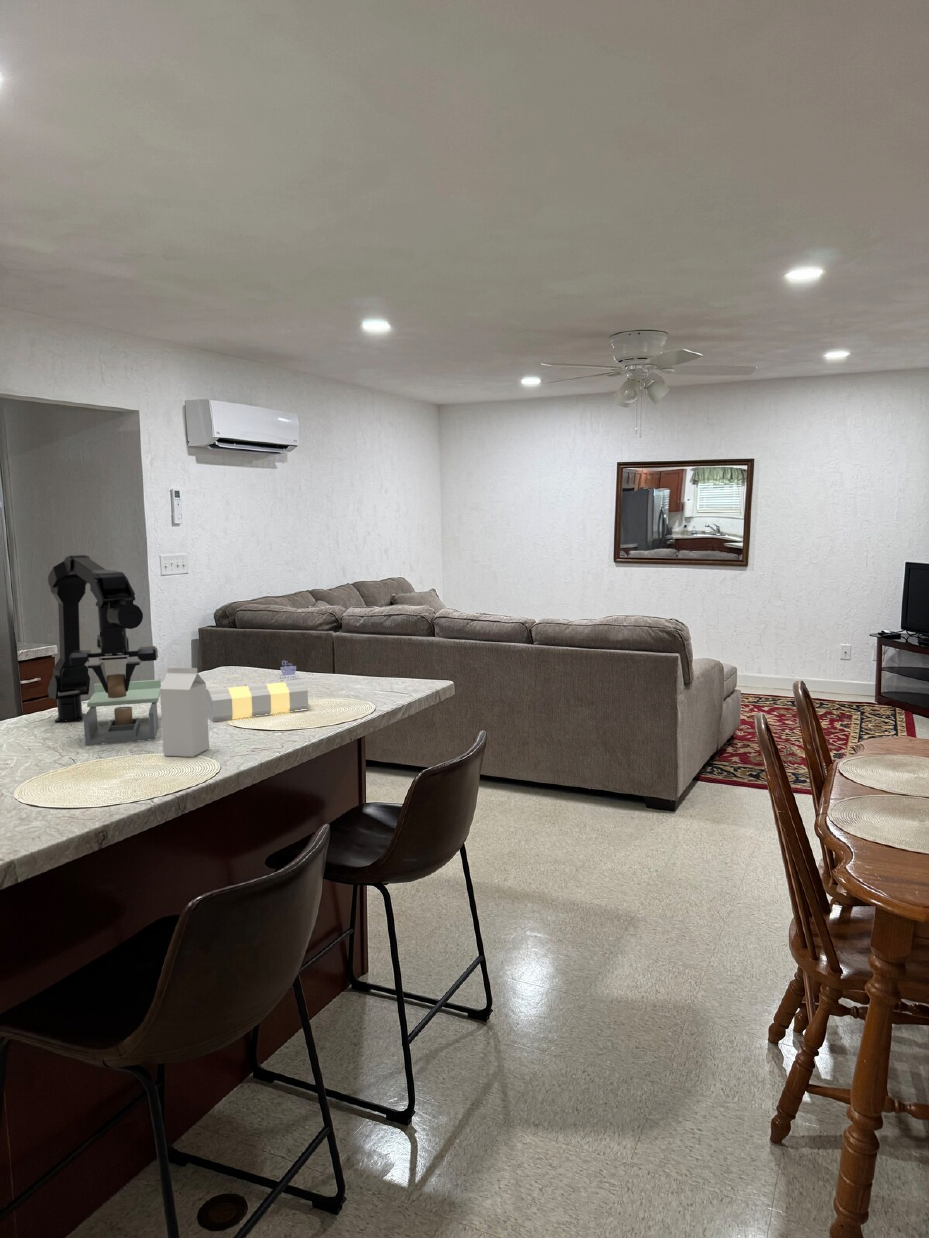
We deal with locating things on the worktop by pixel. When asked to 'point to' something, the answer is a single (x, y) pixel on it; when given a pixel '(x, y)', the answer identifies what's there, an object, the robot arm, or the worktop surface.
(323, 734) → the worktop surface
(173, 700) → the milk carton
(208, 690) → the yellow banded gray prism
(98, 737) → the housing
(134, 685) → the lid
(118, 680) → the brown sleeve
